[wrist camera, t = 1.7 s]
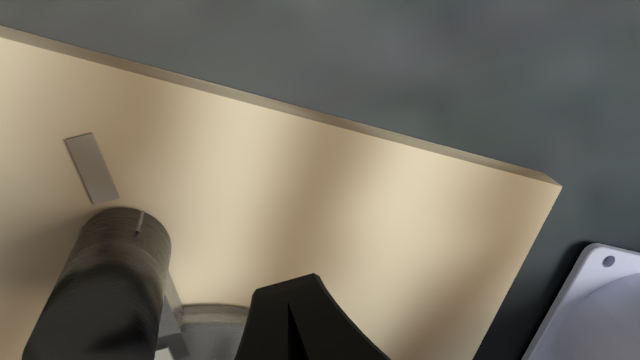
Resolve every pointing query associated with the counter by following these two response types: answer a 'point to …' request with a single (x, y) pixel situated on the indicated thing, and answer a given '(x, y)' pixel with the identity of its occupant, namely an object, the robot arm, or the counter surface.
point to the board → (253, 199)
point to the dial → (128, 301)
